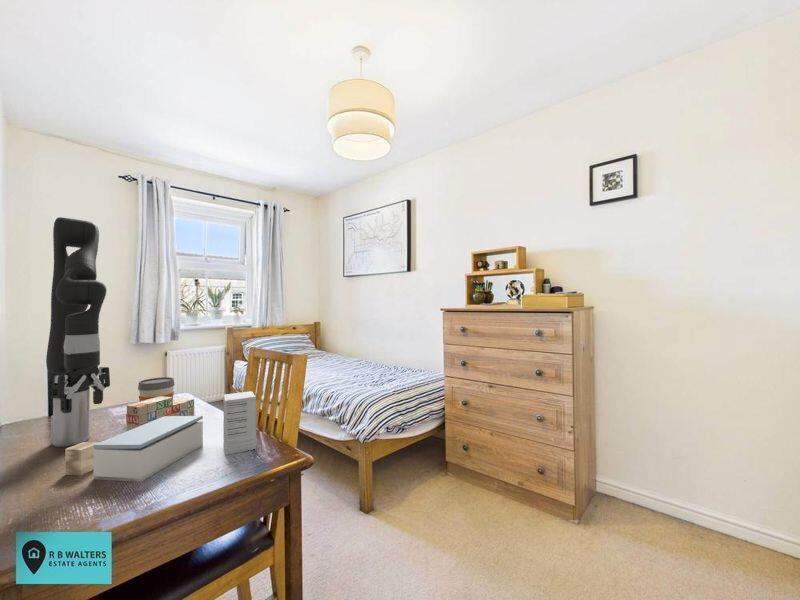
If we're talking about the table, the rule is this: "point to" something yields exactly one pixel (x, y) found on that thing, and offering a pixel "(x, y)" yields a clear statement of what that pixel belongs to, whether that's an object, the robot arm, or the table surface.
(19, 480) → the table surface
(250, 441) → the supplement box
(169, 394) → the reusable coffee cup
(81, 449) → the beech block
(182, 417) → the box lid
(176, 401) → the stack of blocks
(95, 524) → the table surface
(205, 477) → the table surface
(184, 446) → the storage box
